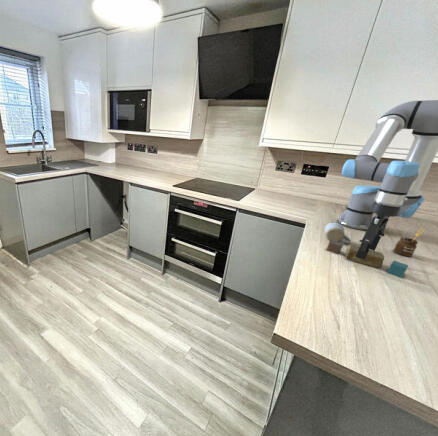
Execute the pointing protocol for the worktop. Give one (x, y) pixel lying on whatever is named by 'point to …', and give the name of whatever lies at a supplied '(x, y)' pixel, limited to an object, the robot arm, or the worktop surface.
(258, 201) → the worktop surface
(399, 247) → the utensil holder
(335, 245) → the walnut block
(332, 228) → the ceramic mug
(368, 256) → the stone block
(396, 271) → the teal block
